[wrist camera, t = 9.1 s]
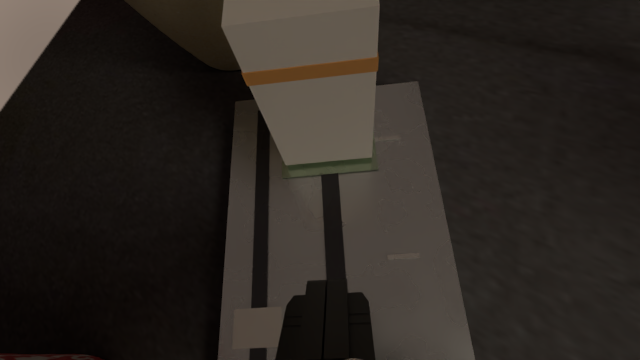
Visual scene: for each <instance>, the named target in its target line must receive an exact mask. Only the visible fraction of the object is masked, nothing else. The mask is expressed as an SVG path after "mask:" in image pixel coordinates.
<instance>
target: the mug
mask: <svg viewBox="0 0 640 360" xmlns="http://www.w3.org/2000/svg"><path fill="white" fill-rule="evenodd" d="M0 360H103V359H101V358H99V357H95V356H91V355H84V354H6V353H0Z"/></svg>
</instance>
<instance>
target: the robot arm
mask: <svg viewBox="0 0 640 360" xmlns="http://www.w3.org/2000/svg"><path fill="white" fill-rule="evenodd" d="M275 360H375V351H374V342H373V334H372V325H371V316H370V307H369V301H368V300H367V298H366V297H365V296H364V294H363V293H362V292H351V293H348V283H347V279H328V284H327V280H310V281H307V285H306V292H305V295H294V296H293V297H292V299H291V300H290V301H289V303H288V304H287V305H286V310H285V314H284V319H283V324H282V329H281V334H280V338H279V343H278V348H277V353H276V358H275Z"/></svg>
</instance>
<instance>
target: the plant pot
mask: <svg viewBox="0 0 640 360" xmlns="http://www.w3.org/2000/svg"><path fill="white" fill-rule="evenodd" d="M124 1H126V2H127V3H128V4H129V5H130V6H131V7H133V8H134V9H135V10H136V11H137V12H138V13H140V14H141V15H142V16H143V17H144V18H146V19H147V20H148V21H149V22H150V23H152V24H153V25H154V26H155V27H157V28H158V29H159V30H160V31H162V32H163V33H164V34H165V35H167V36H168V37H169V38H171V39H172V40H173V41H174V42H176V43H177V44H178V45H180V46H181V47H183V48H184V49H185V50H187V51H188V52H190V53H191V54H192V55H194V56H195V57H197V58H198V59H199V60H201V61H202V62H204V63H205V64H207V65H208V66H210V67H213V68H216V69H220V70H229V71H232V70H241V68H240V66H239V64H238V61H237V59H236V57H235V55H234V53H233V51H232V49H231V46H230V44H229V42H228V40H227V38H226V36H225V33H224V31H223V29H222V27H221V24H222V14H223V4H224V0H124Z"/></svg>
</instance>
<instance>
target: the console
mask: <svg viewBox="0 0 640 360" xmlns="http://www.w3.org/2000/svg"><path fill="white" fill-rule="evenodd" d="M328 279H347V283H348V293H351V292H362V293H363V294H364V296H365V297H366V298H367V300H368V301H369V307H370V316H371V325H372V334H373V342H374V351H375V360H475V358H474V353H473V348H472V343H471V338H470V333H469V328H468V323H467V319H466V314H465V309H464V304H463V299H462V294H461V289H460V284H459V279H458V275H457V270H456V265H455V260H454V255H453V250H452V245H451V240H450V236H449V231H448V226H447V221H446V216H445V211H444V206H443V201H442V197H441V192H440V187H439V182H438V177H437V172H436V167H435V162H434V158H433V153H432V148H431V143H430V138H429V133H428V128H427V123H426V118H425V114H424V109H423V104H422V99H421V94H420V89H419V84H418V81H416V82H407V83H398V84H389V85H380V86H376V89H375V109H374V129H373V148H372V157H371V158H360V159H349V160H338V161H328V162H317V163H306V164H296V165H285V163H284V161H283V158H282V156H281V154H280V152H279V150H278V148H277V146H276V143H275V141H274V139H273V137H272V135H271V133H270V130H269V128H268V126H267V124H266V122H265V120H264V118H263V115H262V113H261V111H260V109H259V107H258V105H257V102H256V100H255V99H254V100H245V101H236V102H235V115H234V129H233V144H232V159H231V173H230V188H229V203H228V218H227V232H226V247H225V262H224V277H223V291H222V306H221V321H220V336H219V350H218V360H275V358H276V353H277V348H278V343H279V338H280V334H281V329H282V324H283V319H284V314H285V310H286V305H287V304H288V303H289V301H290V300H291V299H292V297H293V296H294V295H305V292H306V285H307V281H310V280H327V284H328Z"/></svg>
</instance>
